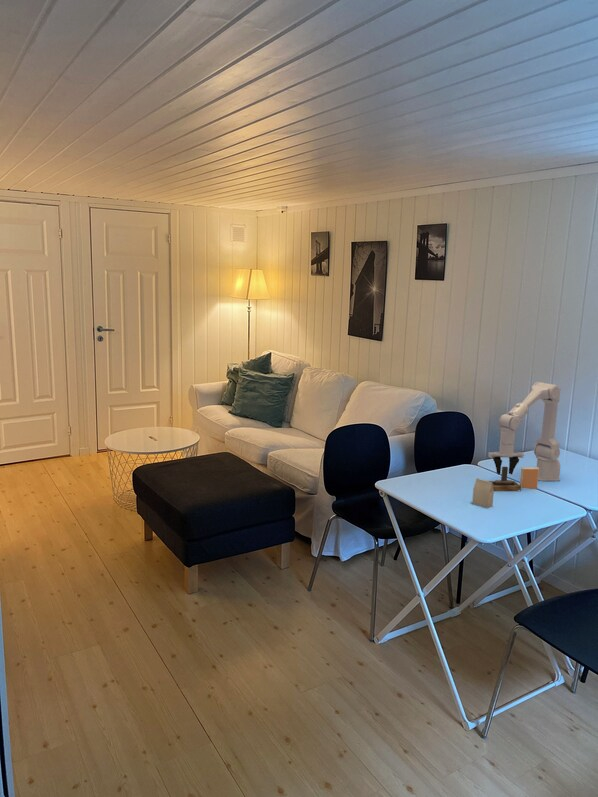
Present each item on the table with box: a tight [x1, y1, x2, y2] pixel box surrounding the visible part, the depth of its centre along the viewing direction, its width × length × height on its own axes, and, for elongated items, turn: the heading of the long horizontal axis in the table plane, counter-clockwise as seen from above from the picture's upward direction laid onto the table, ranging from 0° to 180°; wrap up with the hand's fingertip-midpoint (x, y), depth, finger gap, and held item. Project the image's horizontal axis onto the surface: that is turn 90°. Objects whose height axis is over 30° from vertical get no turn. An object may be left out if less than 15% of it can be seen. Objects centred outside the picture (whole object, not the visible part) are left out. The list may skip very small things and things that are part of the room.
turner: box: [494, 466, 513, 485], centre depth 262 cm, size 7×1×10 cm, turn 94°
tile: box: [519, 466, 539, 490], centre depth 262 cm, size 7×2×9 cm, turn 94°
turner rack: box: [488, 480, 522, 492], centre depth 262 cm, size 12×7×2 cm, turn 94°
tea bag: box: [471, 478, 495, 509], centre depth 242 cm, size 4×7×10 cm, turn 45°
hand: (504, 473), depth 261 cm, fingers open, 5 cm apart
